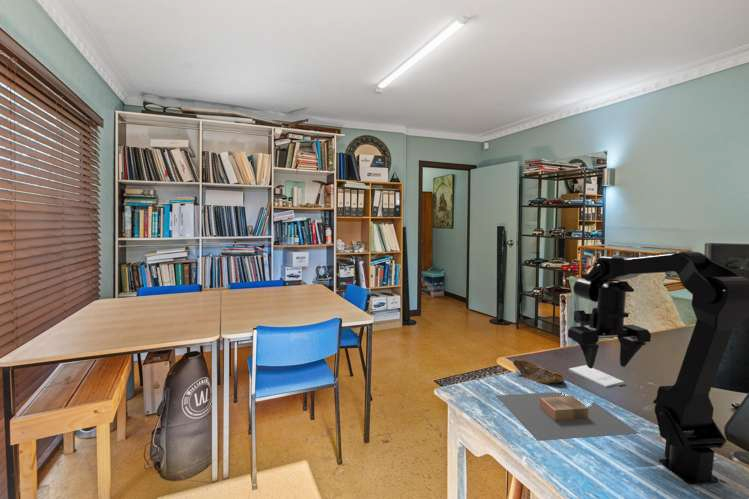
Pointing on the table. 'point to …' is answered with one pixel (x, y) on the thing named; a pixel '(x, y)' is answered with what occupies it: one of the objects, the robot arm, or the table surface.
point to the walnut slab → (563, 408)
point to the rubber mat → (549, 429)
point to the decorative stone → (537, 372)
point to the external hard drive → (596, 376)
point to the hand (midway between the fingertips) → (606, 367)
